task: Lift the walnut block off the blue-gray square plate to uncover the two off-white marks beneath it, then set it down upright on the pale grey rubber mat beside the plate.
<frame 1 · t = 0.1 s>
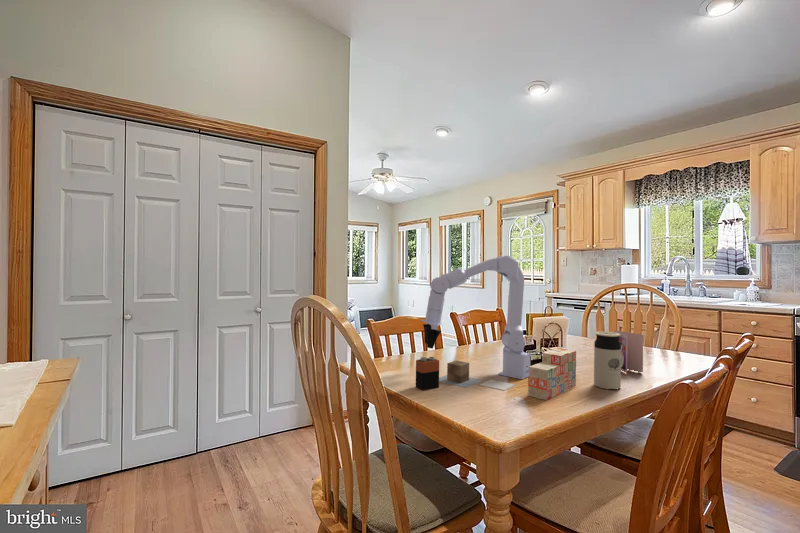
hand: (428, 345, 148), 10 cm above the table, tool pointing down, fingers open, 7 cm apart
stack of blocks: (552, 391, 130), on the table
battery: (427, 388, 132), on the table
travel mug: (607, 387, 135), on the table
rubber mat: (497, 385, 135), on the table
walnut block: (458, 380, 141), on the table, touching blue-gray square plate
blue-gray square plate: (458, 380, 141), on the table
greeting card: (627, 372, 155), on the table
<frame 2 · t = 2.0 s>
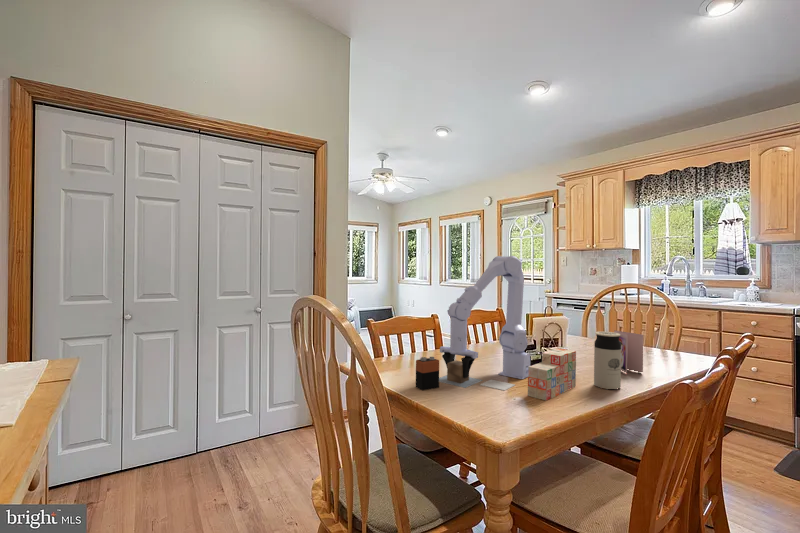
hand: (458, 375, 141), 2 cm above the table, tool pointing down, fingers closed on walnut block, 5 cm apart
walnut block: (458, 380, 141), on the table, touching blue-gray square plate, gripper
everything else where it was.
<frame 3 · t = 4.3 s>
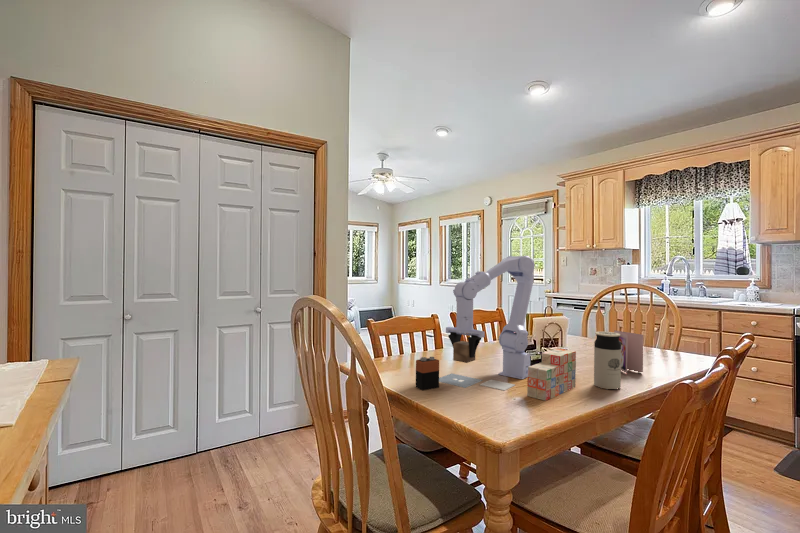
hand: (464, 355, 140), 9 cm above the table, tool pointing down, fingers closed on walnut block, 5 cm apart
walnut block: (464, 360, 140), point 7 cm above the table, touching gripper
everything else where it was.
when the fingers open (3 cm above the table, at t = 6.7 s): walnut block drops 1 cm, resting on rubber mat.
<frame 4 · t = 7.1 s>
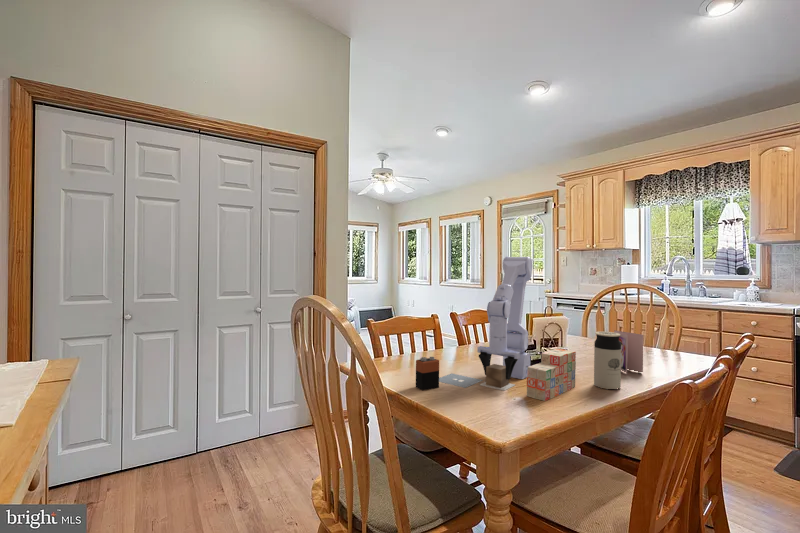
hand: (497, 376, 135), 3 cm above the table, tool pointing down, fingers open, 7 cm apart
walnut block: (497, 384, 135), resting on rubber mat
everything else where it was.
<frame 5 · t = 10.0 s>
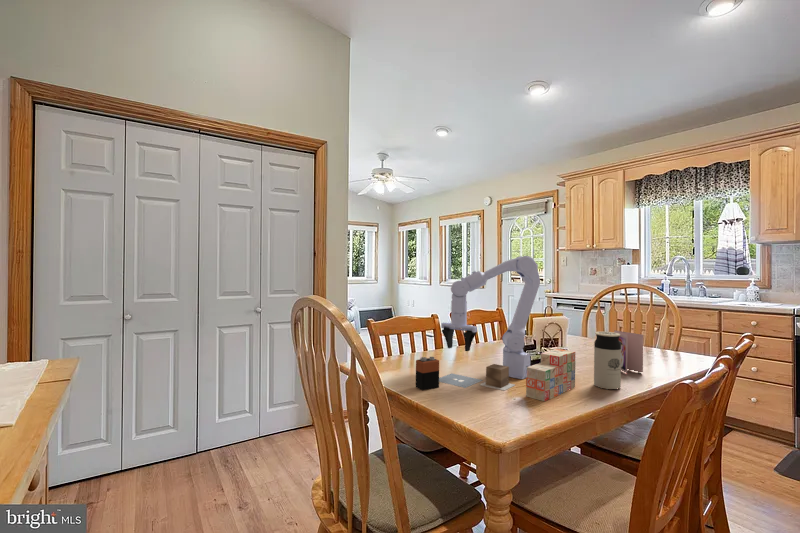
hand: (458, 349, 150), 9 cm above the table, tool pointing down, fingers open, 7 cm apart
at the end: walnut block 0.1 cm from the target spot, on the table; walnut block tilted 0°; the gripper is holding nothing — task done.
